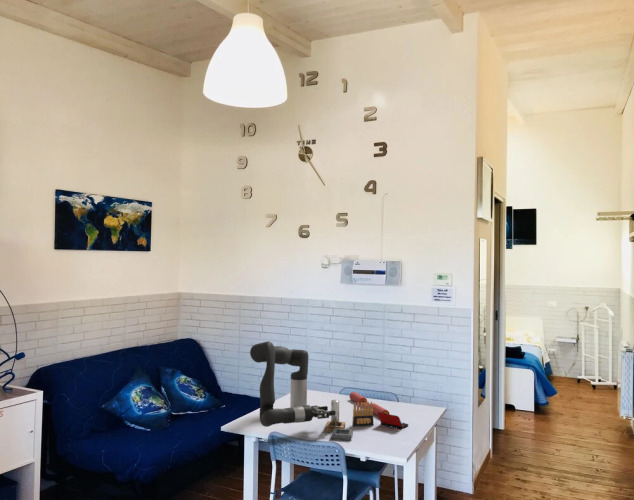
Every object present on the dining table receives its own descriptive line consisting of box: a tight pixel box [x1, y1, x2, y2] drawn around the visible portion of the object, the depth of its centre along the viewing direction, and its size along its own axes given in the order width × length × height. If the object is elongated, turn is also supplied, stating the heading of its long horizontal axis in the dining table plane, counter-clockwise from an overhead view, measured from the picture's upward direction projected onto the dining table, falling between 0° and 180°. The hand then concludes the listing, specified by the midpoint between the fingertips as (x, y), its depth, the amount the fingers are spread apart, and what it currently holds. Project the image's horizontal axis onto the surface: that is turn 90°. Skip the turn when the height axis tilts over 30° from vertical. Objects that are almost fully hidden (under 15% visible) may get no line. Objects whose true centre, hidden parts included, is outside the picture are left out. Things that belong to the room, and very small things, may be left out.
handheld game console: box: [378, 412, 409, 430], centre depth 274 cm, size 12×11×7 cm
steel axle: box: [330, 399, 340, 426], centre depth 268 cm, size 4×4×14 cm
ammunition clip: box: [352, 401, 375, 427], centre depth 274 cm, size 11×2×12 cm, turn 101°
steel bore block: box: [331, 428, 354, 441], centre depth 256 cm, size 9×9×2 cm
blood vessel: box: [349, 391, 390, 417], centre depth 306 cm, size 42×5×5 cm, turn 20°
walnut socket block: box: [324, 420, 346, 433], centre depth 268 cm, size 9×9×2 cm
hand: (331, 410), depth 267 cm, fingers open, 8 cm apart
